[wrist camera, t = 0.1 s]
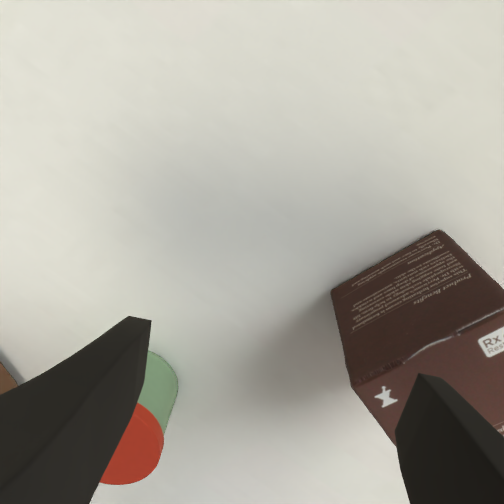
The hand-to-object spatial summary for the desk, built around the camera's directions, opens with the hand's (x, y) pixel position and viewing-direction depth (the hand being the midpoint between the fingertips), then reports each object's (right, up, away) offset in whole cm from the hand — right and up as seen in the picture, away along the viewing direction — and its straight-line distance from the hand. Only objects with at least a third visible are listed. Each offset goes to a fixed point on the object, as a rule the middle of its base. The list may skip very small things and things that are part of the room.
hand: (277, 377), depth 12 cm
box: (+7, +1, +10) cm, 13 cm away
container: (-7, -4, +13) cm, 15 cm away
